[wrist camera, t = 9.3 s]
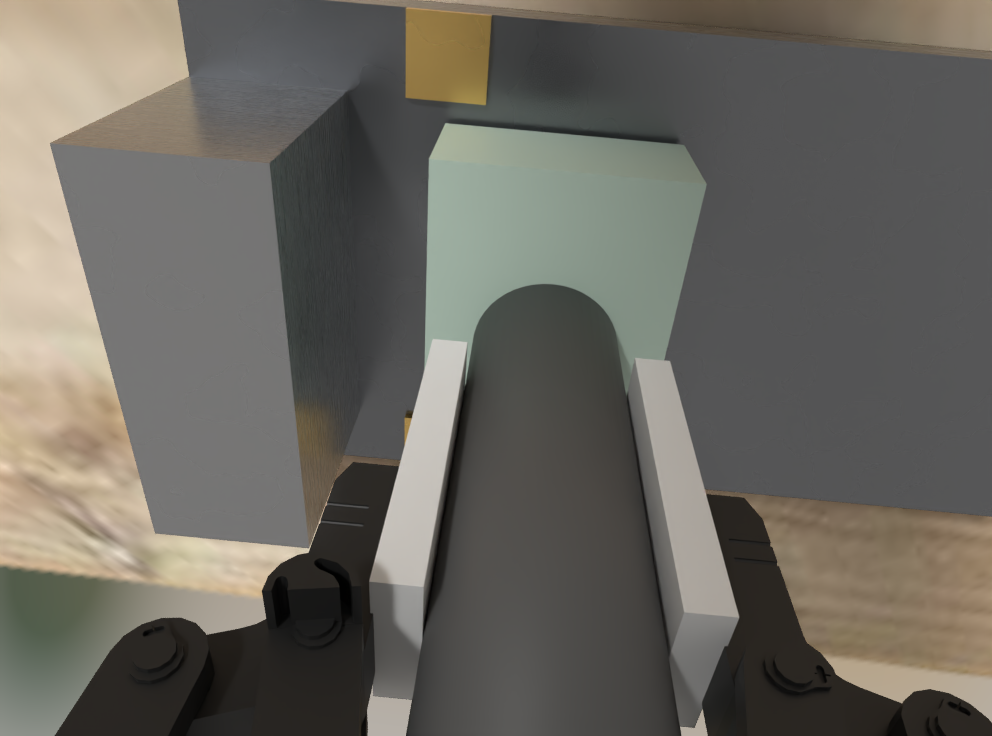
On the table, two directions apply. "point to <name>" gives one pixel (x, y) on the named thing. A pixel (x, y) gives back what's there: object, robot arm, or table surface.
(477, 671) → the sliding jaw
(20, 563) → the table surface
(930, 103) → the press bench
